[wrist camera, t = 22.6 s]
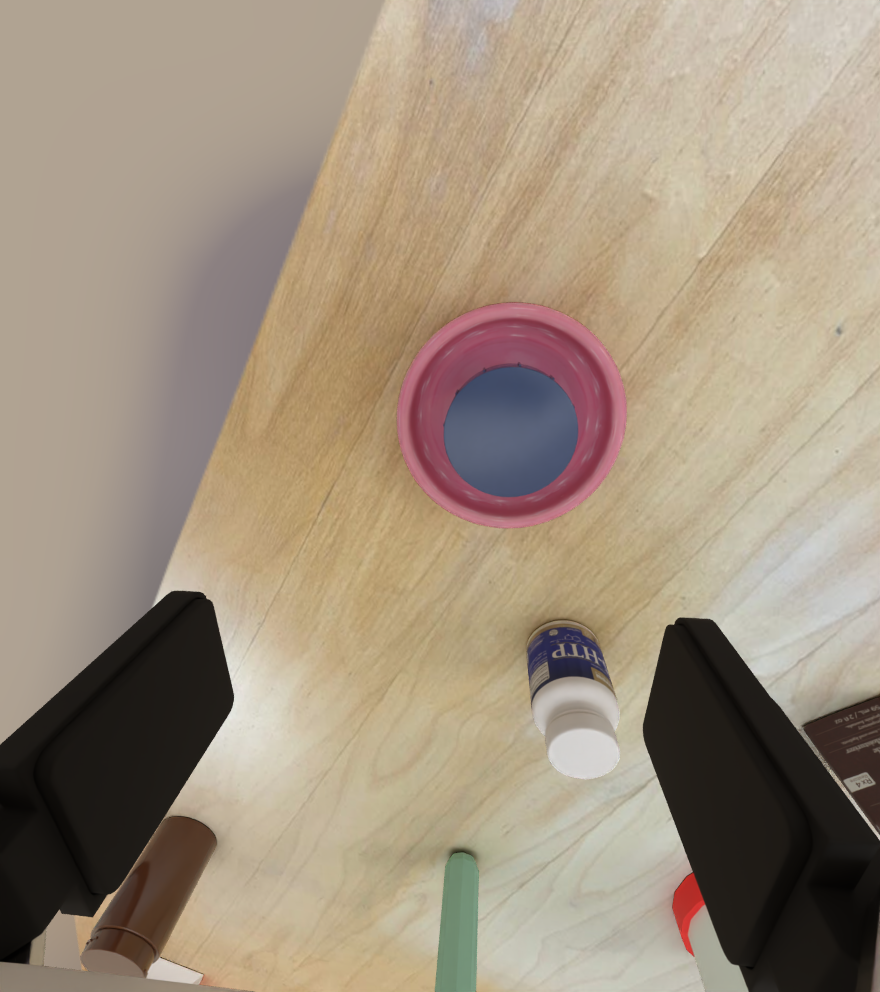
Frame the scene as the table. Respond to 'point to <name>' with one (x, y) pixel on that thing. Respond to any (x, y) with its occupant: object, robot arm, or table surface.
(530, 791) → the table surface
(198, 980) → the red open cube
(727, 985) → the container
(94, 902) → the robot arm
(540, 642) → the pill bottle
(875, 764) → the box
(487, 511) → the saucer
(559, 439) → the lid
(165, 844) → the jar
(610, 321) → the table surface
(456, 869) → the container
